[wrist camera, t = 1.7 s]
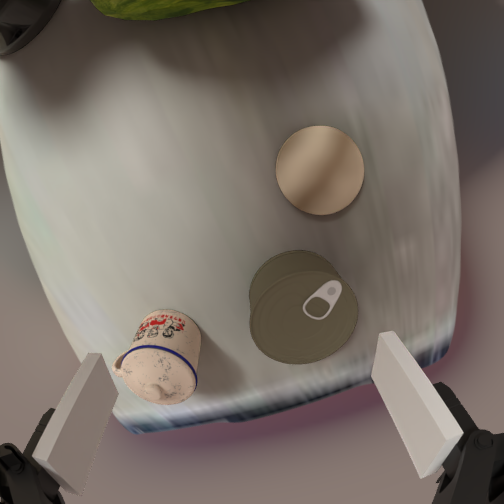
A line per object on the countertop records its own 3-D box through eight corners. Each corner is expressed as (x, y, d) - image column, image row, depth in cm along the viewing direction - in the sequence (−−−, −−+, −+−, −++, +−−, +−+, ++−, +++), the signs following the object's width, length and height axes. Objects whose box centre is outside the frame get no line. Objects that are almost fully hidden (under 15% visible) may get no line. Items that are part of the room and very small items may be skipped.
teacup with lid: (189, 299, 38) (174, 358, 27) (212, 354, 41) (206, 416, 30) (111, 317, 38) (78, 371, 27) (138, 366, 42) (117, 423, 31)
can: (229, 306, 39) (228, 338, 32) (284, 229, 35) (295, 249, 29) (302, 344, 41) (312, 377, 35) (358, 279, 38) (378, 304, 32)
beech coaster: (261, 192, 34) (262, 193, 33) (297, 111, 31) (299, 110, 30) (338, 225, 35) (341, 228, 34) (372, 150, 32) (377, 151, 31)
